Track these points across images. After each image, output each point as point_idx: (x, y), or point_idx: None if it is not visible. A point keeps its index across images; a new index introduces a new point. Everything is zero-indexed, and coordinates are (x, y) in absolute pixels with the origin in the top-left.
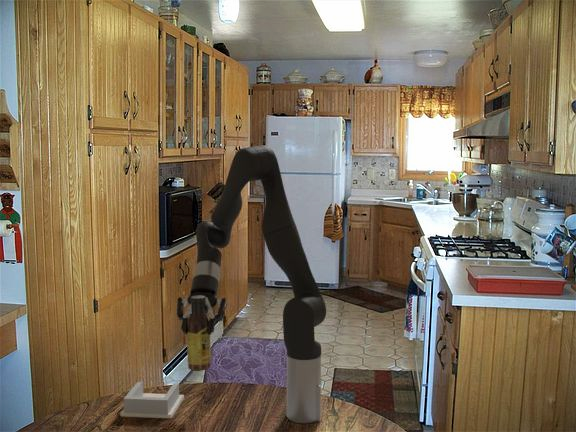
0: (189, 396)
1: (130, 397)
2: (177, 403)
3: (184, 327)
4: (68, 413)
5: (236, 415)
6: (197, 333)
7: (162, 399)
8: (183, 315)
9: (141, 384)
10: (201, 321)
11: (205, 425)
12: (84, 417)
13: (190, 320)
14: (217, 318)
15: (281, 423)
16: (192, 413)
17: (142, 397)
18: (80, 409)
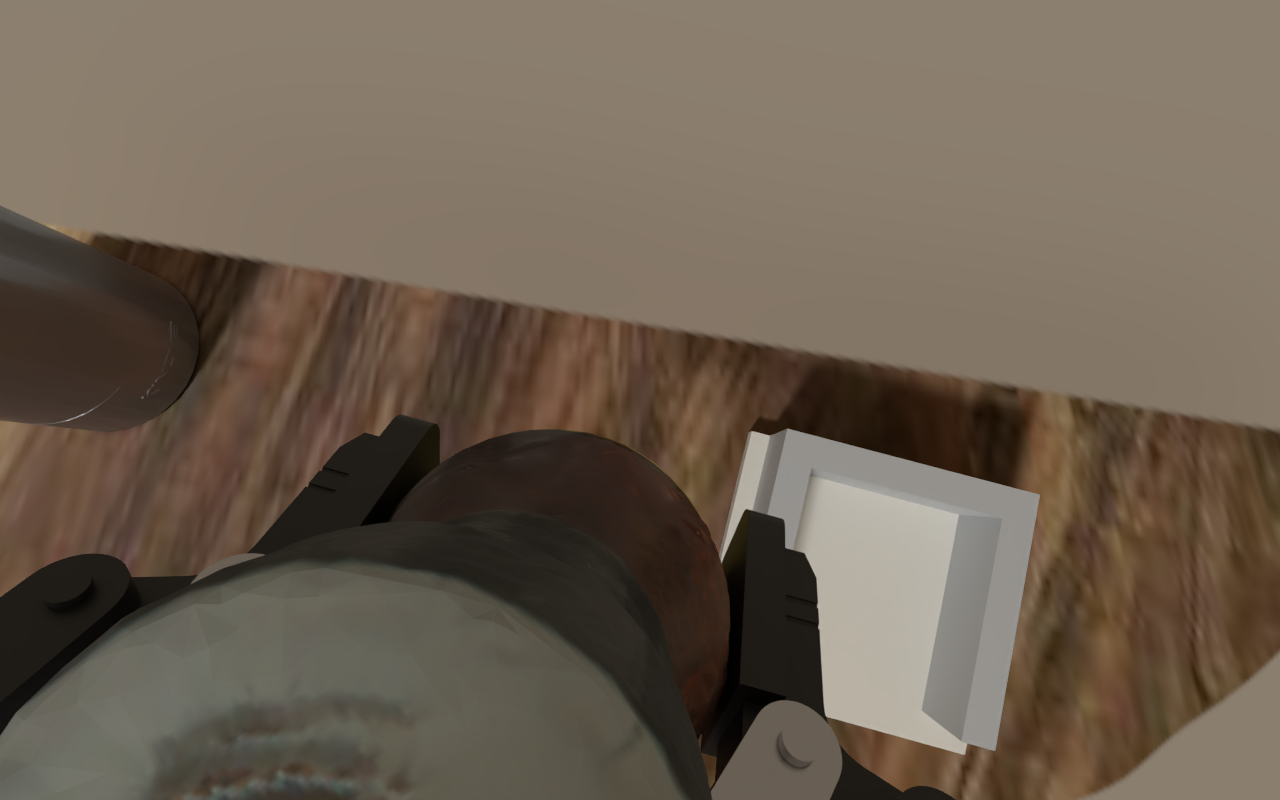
0: None
1: (1002, 504)
2: None
3: (768, 545)
4: (1269, 579)
5: (434, 413)
6: (579, 431)
7: (816, 444)
8: (833, 771)
9: (965, 708)
10: (484, 470)
11: (589, 334)
12: (1175, 517)
13: (682, 530)
14: (167, 582)
15: (241, 296)
16: None
17: (933, 492)
18: (1222, 618)
